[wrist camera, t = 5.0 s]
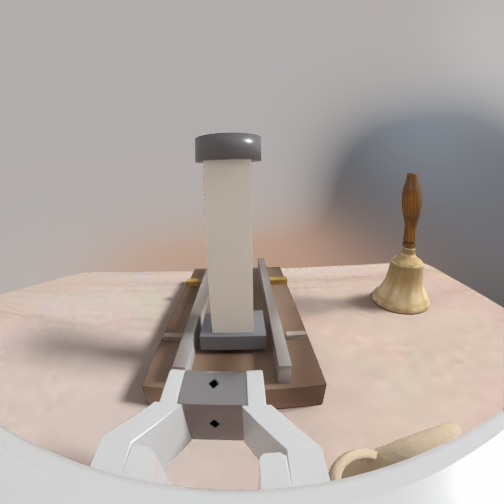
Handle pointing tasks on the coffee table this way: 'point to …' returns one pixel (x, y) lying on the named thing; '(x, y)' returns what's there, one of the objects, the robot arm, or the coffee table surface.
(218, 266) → the fader tab
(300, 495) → the robot arm
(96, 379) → the coffee table surface
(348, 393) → the coffee table surface
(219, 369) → the fader track
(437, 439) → the decorative ornament
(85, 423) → the coffee table surface
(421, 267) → the hand bell
